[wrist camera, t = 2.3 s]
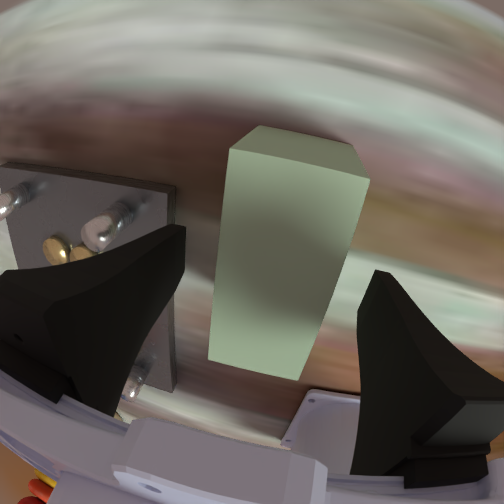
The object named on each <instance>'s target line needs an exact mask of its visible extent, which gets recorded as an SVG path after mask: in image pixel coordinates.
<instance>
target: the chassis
mask: <svg viewBox="0 0 504 504" xmlns="http://www.w3.org/2000/svg"><path fill="white" fill-rule="evenodd" d="M0 188H1V194H0V221H1V220H3V219H4V218H6V220H7V225H8V230H9V234H10V238H11V242H12V246H13V250H14V254H15V258H16V261H17V265H18V269H32V268H40V267H47V266H53V265H59V264H64V263H68V262H72V261H76V260H80V259H84V258H88V257H91V256H94V255H97V254H100V253H103V252H106V251H109V250H111V249H114V248H116V247H119V246H121V245H123V244H126V243H128V242H131V241H133V240H135V239H137V238H139V237H142V236H144V235H146V234H148V233H150V232H152V231H155V230H157V229H159V228H161V227H164V226H166V225H169V224H175V199H176V186H171V185H165V184H160V183H154V182H148V181H142V180H136V179H130V178H124V177H118V176H111V175H105V174H98V173H91V172H84V171H77V170H70V169H63V168H55V167H47V166H39V165H31V164H22V163H13V162H7V163H5V164H3V165H1V166H0ZM143 384H147V385H150V386H152V387H155V388H158V389H161V390H164V391H167V392H170V393H173V391H174V388H175V386H176V384H177V381H176V362H175V336H174V294H173V296H172V297H171V299H170V300H169V302H168V304H167V305H166V307H165V308H164V310H163V311H162V313H161V314H160V316H159V318H158V319H157V321H156V322H155V324H154V325H153V327H152V328H151V330H150V332H149V333H148V335H147V337H146V339H145V340H144V343H143V345H142V347H141V349H140V351H139V353H138V355H137V358H136V360H135V362H134V364H133V367H132V369H131V372H130V374H129V376H128V379H127V381H126V384H125V387H124V389H123V392H122V395H121V398H123V399H124V400H126V401H129V402H134V401H135V399H136V397H137V395H138V393H139V391H140V389H141V387H142V386H143Z"/></svg>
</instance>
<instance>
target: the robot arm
mask: <svg viewBox="0 0 504 504" xmlns="http://www.w3.org/2000/svg"><path fill="white" fill-rule="evenodd" d="M185 241H186V227H185V226H180V225H175V224H169V225H166V226H164V227H161V228H159V229H157V230H155V231H152V232H150V233H148V234H146V235H144V236H142V237H139V238H137V239H135V240H133V241H131V242H128V243H126V244H123V245H121V246H119V247H116V248H114V249H111V250H109V251H106V252H103V253H100V254H97V255H94V256H91V257H88V258H84V259H80V260H76V261H72V262H68V263H64V264H59V265H53V266H47V267H40V268H32V269H16V270H6V271H5V272H4V273H3V274H2V275H0V442H1V443H3V444H4V445H5V446H6V447H8V448H9V449H10V450H11V451H13V452H14V453H15V454H17V455H18V456H19V457H21V458H22V459H23V460H25V461H26V462H28V463H29V464H30V465H32V466H33V467H35V468H36V469H38V470H39V471H41V472H42V473H44V474H45V475H47V476H48V477H50V478H51V479H53V480H54V481H56V482H57V484H56V485H55V487H54V489H53V491H52V493H51V495H50V497H49V499H48V501H47V503H46V504H504V458H498V459H494V460H491V461H489V462H487V460H486V455H487V454H489V453H490V451H491V448H490V442H491V441H492V440H493V439H494V438H496V437H497V436H498V435H499V434H500V433H501V432H503V431H504V382H503V381H501V380H499V379H498V378H496V377H494V376H493V375H491V374H490V373H488V372H487V371H485V370H484V369H482V368H481V367H480V366H478V365H477V364H476V363H474V362H473V361H472V360H470V359H469V358H468V357H467V356H466V355H464V354H463V353H462V352H461V351H460V350H458V349H457V348H456V347H455V346H454V345H453V344H452V343H451V342H450V341H449V340H448V339H447V338H446V337H445V336H444V335H443V334H442V333H441V332H440V331H439V330H438V329H437V328H436V327H435V326H434V325H433V324H432V323H431V322H430V320H429V319H428V318H427V317H426V316H425V315H424V314H423V312H422V311H421V310H420V309H419V307H418V306H417V305H416V304H415V303H414V301H413V300H412V299H411V298H410V296H409V295H408V294H407V292H406V291H405V290H404V289H403V287H402V286H401V285H400V284H399V282H398V281H397V280H396V279H395V278H394V277H393V276H392V275H391V274H390V273H388V272H384V271H380V270H375V271H374V274H373V276H372V278H371V281H370V283H369V286H368V288H367V290H366V293H365V295H364V297H363V300H362V302H361V304H360V306H359V309H358V311H357V344H358V355H359V367H360V381H361V395H360V396H355V395H348V394H342V393H335V392H329V391H323V390H318V389H311V390H309V391H308V392H307V394H306V396H305V397H304V399H303V401H302V403H301V405H300V407H299V409H298V411H297V413H296V415H295V417H294V418H293V420H292V422H291V424H290V426H289V428H288V429H287V431H286V433H285V435H284V437H283V438H282V440H281V446H283V447H288V448H291V450H285V449H279V448H274V447H268V446H263V445H258V444H254V443H249V442H245V441H240V440H236V439H232V438H228V437H224V436H220V435H216V434H212V433H209V432H205V431H202V430H198V429H195V428H191V427H188V426H185V425H182V424H179V423H175V422H171V421H167V420H162V419H158V418H154V417H149V418H141V419H135V420H132V422H131V424H128V423H125V422H123V421H120V420H118V419H116V418H114V415H115V412H116V409H117V406H118V403H119V400H120V397H121V395H122V392H123V389H124V387H125V384H126V381H127V379H128V376H129V374H130V372H131V369H132V367H133V364H134V362H135V360H136V358H137V355H138V353H139V351H140V349H141V347H142V345H143V343H144V340H145V339H146V337H147V335H148V333H149V332H150V330H151V328H152V327H153V325H154V324H155V322H156V321H157V319H158V318H159V316H160V314H161V313H162V311H163V310H164V308H165V307H166V305H167V304H168V302H169V300H170V299H171V297H172V296H173V294H174V292H175V291H176V289H177V286H178V284H179V282H180V280H181V278H182V276H183V273H184V270H185Z"/></svg>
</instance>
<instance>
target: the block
mask: <svg viewBox="0 0 504 504" xmlns="http://www.w3.org/2000/svg"><path fill="white" fill-rule="evenodd" d="M369 182H370V178H369V176H368V174H367V172H366V170H365V168H364V166H363V164H362V162H361V160H360V158H359V156H358V154H357V152H356V150H355V149H354V147H353V145H349V144H345V143H341V142H337V141H333V140H329V139H325V138H320V137H316V136H312V135H307V134H303V133H298V132H293V131H288V130H283V129H278V128H273V127H267V126H262V125H259V126H257V127H256V128H255V129H253V130H252V131H251V132H250V133H248V134H247V135H246V136H244V137H243V138H242V139H241V140H239V141H238V142H237V143H236V144H234V145H233V146H232V147H231V148H230V149H229V157H228V165H227V173H226V181H225V190H224V198H223V207H222V216H221V225H220V234H219V243H218V253H217V262H216V273H215V283H214V293H213V304H212V316H211V327H210V339H209V352H208V360H212V361H215V362H219V363H223V364H227V365H231V366H235V367H239V368H243V369H247V370H251V371H255V372H260V373H264V374H268V375H273V376H277V377H282V378H287V379H292V380H297V381H298V379H299V377H300V374H301V372H302V370H303V368H304V365H305V363H306V360H307V358H308V356H309V353H310V351H311V349H312V346H313V344H314V341H315V339H316V336H317V334H318V331H319V329H320V326H321V324H322V321H323V319H324V316H325V313H326V311H327V308H328V306H329V303H330V300H331V298H332V295H333V292H334V289H335V287H336V284H337V281H338V278H339V276H340V273H341V270H342V267H343V264H344V261H345V258H346V256H347V253H348V250H349V247H350V244H351V241H352V238H353V235H354V231H355V228H356V225H357V222H358V219H359V216H360V212H361V209H362V206H363V203H364V199H365V196H366V193H367V189H368V186H369Z"/></svg>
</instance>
